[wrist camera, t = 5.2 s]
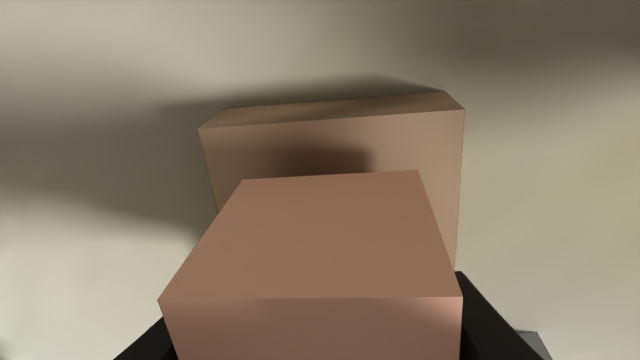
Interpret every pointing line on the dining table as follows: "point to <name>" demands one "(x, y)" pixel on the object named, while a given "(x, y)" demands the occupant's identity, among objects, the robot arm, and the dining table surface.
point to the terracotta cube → (318, 274)
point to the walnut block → (343, 145)
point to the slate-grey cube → (536, 344)
